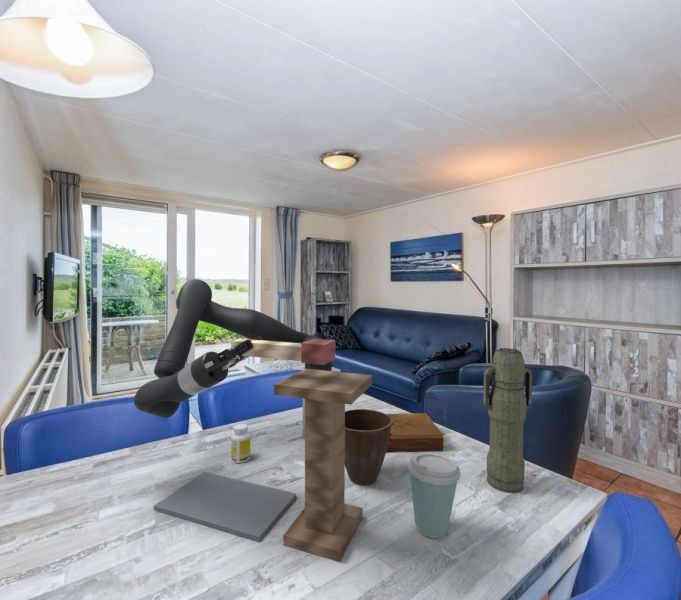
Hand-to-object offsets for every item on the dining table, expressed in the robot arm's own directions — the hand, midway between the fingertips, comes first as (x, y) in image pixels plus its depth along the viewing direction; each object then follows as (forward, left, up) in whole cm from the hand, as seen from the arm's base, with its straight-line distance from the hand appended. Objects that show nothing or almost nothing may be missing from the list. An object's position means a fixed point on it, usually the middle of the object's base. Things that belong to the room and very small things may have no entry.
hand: (256, 342), depth 80 cm
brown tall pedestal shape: (-8, +14, -39) cm, 42 cm away
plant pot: (-28, +4, -39) cm, 48 cm away
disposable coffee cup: (-26, +28, -39) cm, 55 cm away
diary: (-54, -6, -39) cm, 67 cm away
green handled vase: (-55, +29, -39) cm, 74 cm away
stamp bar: (-3, +5, -3) cm, 7 cm away
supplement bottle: (-7, -26, -39) cm, 47 cm away
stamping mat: (+4, -7, -39) cm, 40 cm away
